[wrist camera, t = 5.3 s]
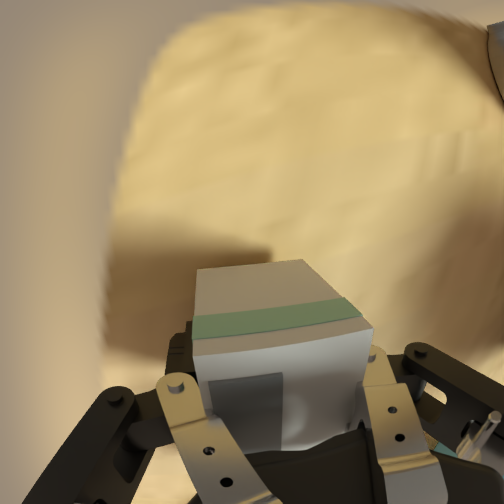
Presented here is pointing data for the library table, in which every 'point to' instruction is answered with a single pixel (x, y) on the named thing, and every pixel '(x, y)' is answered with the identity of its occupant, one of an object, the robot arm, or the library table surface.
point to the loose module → (277, 354)
